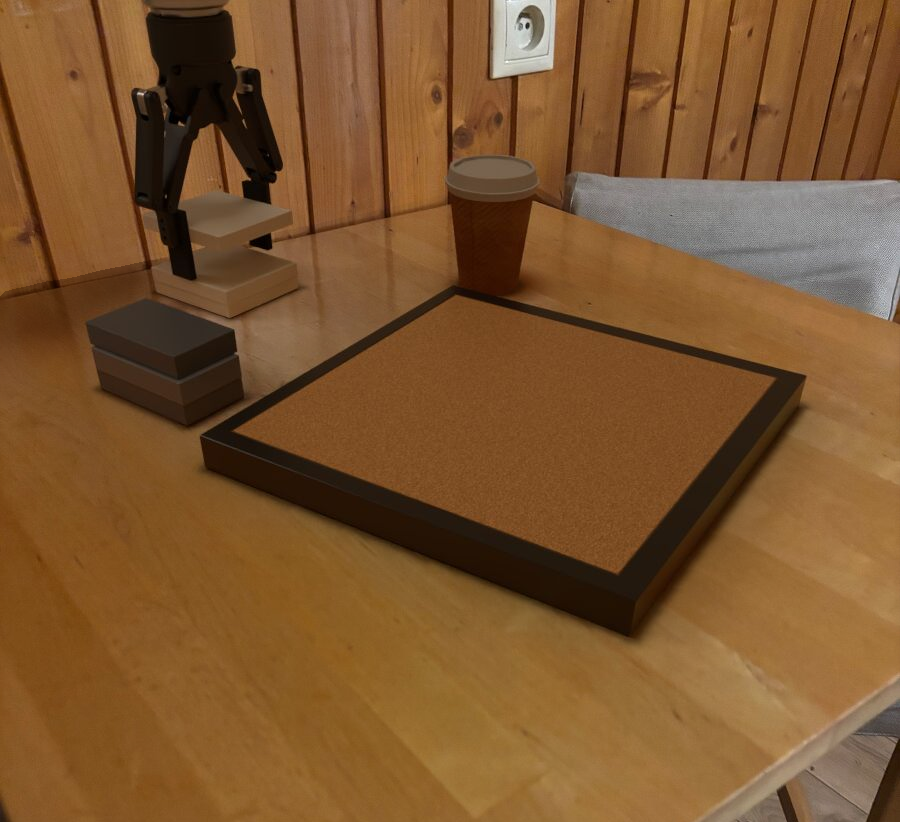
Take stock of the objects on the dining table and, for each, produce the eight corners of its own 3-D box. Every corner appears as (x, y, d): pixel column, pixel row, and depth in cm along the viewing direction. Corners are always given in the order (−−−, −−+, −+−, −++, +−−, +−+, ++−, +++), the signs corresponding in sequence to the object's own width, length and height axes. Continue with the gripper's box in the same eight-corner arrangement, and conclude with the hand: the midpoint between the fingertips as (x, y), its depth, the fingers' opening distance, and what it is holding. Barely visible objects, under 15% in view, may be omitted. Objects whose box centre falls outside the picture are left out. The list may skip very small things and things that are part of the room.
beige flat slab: (144, 228, 94) (141, 214, 93) (218, 203, 100) (216, 189, 99) (221, 252, 89) (218, 237, 88) (293, 224, 95) (292, 210, 94)
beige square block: (154, 292, 98) (149, 266, 96) (226, 264, 104) (222, 239, 103) (229, 319, 93) (225, 292, 91) (300, 288, 99) (297, 262, 98)
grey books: (97, 388, 82) (80, 322, 78) (158, 360, 86) (146, 297, 82) (187, 428, 76) (174, 360, 73) (248, 396, 81) (239, 330, 77)
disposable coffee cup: (499, 262, 106) (504, 148, 98) (550, 290, 100) (560, 171, 92) (427, 279, 102) (426, 161, 94) (476, 309, 96) (479, 186, 88)
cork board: (205, 467, 72) (629, 636, 58) (199, 434, 70) (636, 601, 56) (452, 312, 95) (798, 405, 81) (452, 284, 93) (807, 375, 79)
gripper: (111, 31, 74) (163, 304, 88) (306, -1, 88) (324, 239, 102) (52, 21, 77) (112, 286, 92) (249, -9, 91) (274, 225, 106)
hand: (224, 261), depth 97 cm, fingers closed on beige flat slab, 10 cm apart
